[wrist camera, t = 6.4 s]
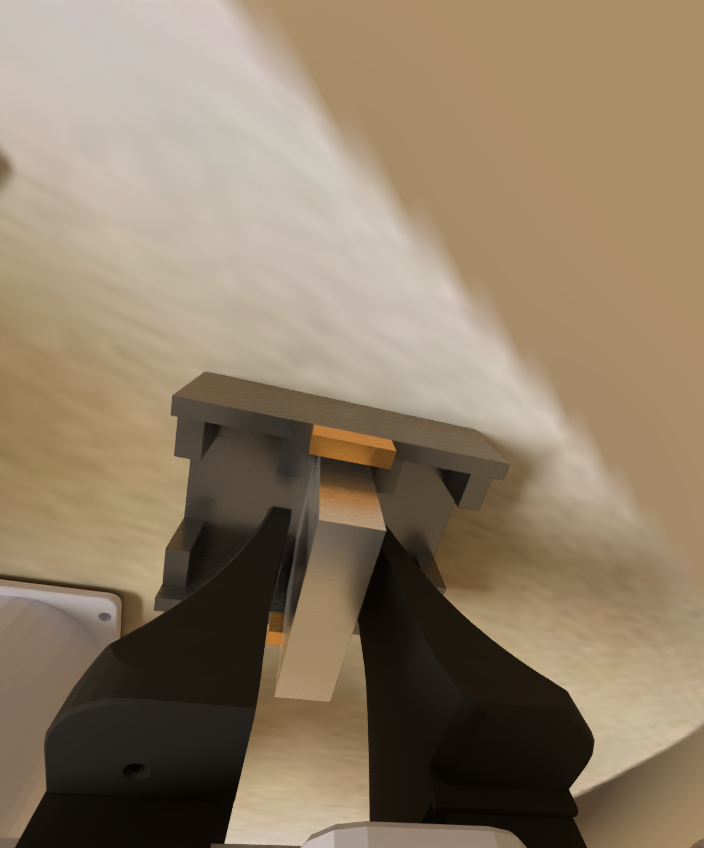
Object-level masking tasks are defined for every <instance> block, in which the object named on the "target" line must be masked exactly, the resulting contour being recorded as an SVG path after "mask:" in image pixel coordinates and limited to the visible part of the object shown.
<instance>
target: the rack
mask: <svg viewBox="0 0 704 848" xmlns="http://www.w3.org/2000/svg"><path fill="white" fill-rule="evenodd" d="M171 415H172V416H177V417H178V420H177V431H176V442H175V453H174V456H177V457H182V458H188V459H191V460H190V469H189V478H188V487H187V497H186V506H185V515H184V519H183V521H182V522H181V524H180V525H179V527H178V529H177V530H176V532H175V534H174V535H173V537H172V539H171V540H170V542H169V544H168V545H167V547H166V551H165V562H164V573H163V584H162V586H161V588H160V590H159V592H158V593H157V595H156V597H155V607H154V610H155V611H163V612H166V611H167V610H169V609H170V608H172V607H173V606H175V605H176V604H178V603H179V602H181V601H182V600H184V599H185V598H187V597H188V596H189V595H191V594H192V593H193V592H194V591H196V590H197V589H198V588H199V587H201V586H202V585H203V584H204V583H206V582H207V581H208V580H209V579H211V578H212V577H213V576H214V575H215V574H216V573H217V572H218V571H219V570H221V569H222V568H223V567H224V566H225V565H226V564H227V563H228V562H229V561H230V560H231V559H232V558H233V557H234V556H235V555H236V553H237V552H238V551H239V550H240V549H241V548H242V547H243V546H244V545H245V544H246V542H247V541H248V540H249V539H250V537H251V536H252V535H253V534H254V532H255V531H256V530H257V529H258V527H259V526H260V524H261V523H262V521H263V520H264V518H265V516H266V515H267V513H268V510H269V509H270V508H271V507H273V506H274V507H280V508H286V509H292V511H291V521H290V526H289V530H288V535H287V539H286V544H285V548H284V553H283V557H282V562H281V566H280V571H279V575H278V580H277V584H276V589H275V592H274V596H273V600H272V603H271V607H270V611H269V618H268V624H269V627H268V633H267V639H266V644H270V645H279V646H280V645H281V637H282V629H283V620H284V612H285V604H286V596H287V587H288V579H289V571H290V563H291V557H292V553H293V548H294V544H295V540H296V536H297V531H298V527H299V523H300V518H301V514H302V510H303V506H304V501H305V497H306V493H307V488H308V484H309V480H310V475H311V471H312V467H313V463H314V458H315V455H317V456H322V457H327V458H333V459H338V460H343V461H348V462H354V463H359V464H364V465H369V466H370V468H371V472H372V476H373V480H374V484H375V488H376V492H377V496H378V500H379V504H380V508H381V512H382V516H383V520H384V524H385V525H387V526H388V528H389V529H390V530H391V532H392V533H393V534H394V536H395V537H396V538H397V540H398V541H399V542H400V544H401V545H402V546H403V548H404V549H405V551H406V552H407V553H408V554H409V556H410V557H411V558H412V560H413V561H414V562H415V563H416V565H417V566H418V567H419V568H420V570H421V571H422V572H423V573H424V575H425V576H426V577H427V578H428V579H429V580H430V581H431V583H432V584H433V585H434V586H435V587H436V588H437V589H438V590H439V592H440V593H441V594H442V595H444V592H445V590H446V587H445V585H444V582H443V580H442V577H441V575H440V572H439V570H438V567H437V565H436V562H435V560H434V557H433V556H434V553H435V551H436V548H437V546H438V543H439V541H440V538H441V535H442V533H443V530H444V528H445V525H446V523H447V520H448V518H449V515H450V513H451V510H452V507H453V505H454V502H455V503H456V505H457V506H458V507H460V508H466V509H471V510H477V511H479V509H480V507H481V505H482V502H483V500H484V497H485V495H486V493H487V490H488V488H489V486H490V483H491V481H492V479H493V478H494V479H499V480H504V478H505V476H506V473H507V471H508V469H509V466H510V463H509V462H508V461H507V460H506V459H505V458H503V457H502V456H501V455H500V454H499V453H498V452H497V451H496V450H495V449H494V448H493V447H492V446H491V445H490V444H489V443H488V442H487V441H486V440H485V439H484V438H483V437H482V436H481V435H480V434H479V433H478V432H477V431H475V430H474V429H469V428H464V427H460V426H455V425H450V424H446V423H441V422H437V421H432V420H427V419H423V418H418V417H413V416H409V415H404V414H399V413H395V412H390V411H385V410H381V409H376V408H371V407H367V406H362V405H358V404H353V403H348V402H344V401H339V400H334V399H330V398H325V397H320V396H316V395H311V394H306V393H302V392H297V391H293V390H288V389H283V388H279V387H274V386H269V385H265V384H260V383H255V382H251V381H246V380H241V379H237V378H232V377H228V376H223V375H218V374H214V373H209V372H204V373H202V374H201V375H200V376H198V377H197V378H196V379H194V380H193V381H191V382H190V383H189V384H187V385H186V386H185V387H183V388H182V389H181V390H179V391H178V392H176V393H175V394H174V395H172V406H171ZM352 634H357V635H360V631H359V624H358V618H357V621H356V624H355V627H354V630H353V633H352Z"/></svg>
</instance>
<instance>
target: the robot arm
mask: <svg viewBox="0 0 704 848" xmlns="http://www.w3.org/2000/svg"><path fill="white" fill-rule="evenodd" d="M291 511H292V509H286V508H280V507H274V506H273V507H271V508H270V509H269V510H268V513H267V515H266V516H265V518H264V520H263V521H262V523H261V524H260V526H259V527H258V529H257V530H256V531H255V532H254V534H253V535H252V536H251V537H250V539H249V540H248V541H247V542H246V544H245V545H244V546H243V547H242V548H241V549H240V550H239V551H238V552H237V553H236V555H235V556H234V557H233V558H232V559H231V560H230V561H229V562H228V563H227V564H226V565H225V566H224V567H223V568H222V569H221V570H219V571H218V572H217V573H216V574H215V575H214V576H213V577H212V578H211V579H209V580H208V581H207V582H206V583H204V584H203V585H202V586H201V587H199V588H198V589H197V590H196V591H194V592H193V593H192V594H191V595H189V596H188V597H187V598H185V599H184V600H182V601H181V602H179V603H178V604H176V605H175V606H173V607H172V608H170V609H169V610H167V611H166V612H164V613H163V614H161V615H160V616H158V617H157V618H155V619H154V620H152V621H150V622H149V623H147V624H145V625H144V626H142V627H140V628H138V629H136V630H135V631H133V632H131V633H129V634H127V635H125V636H124V637H122V638H120V631H121V609H122V602H121V599H120V598H119V597H118V596H117V595H115V594H112V593H107V592H99V591H90V590H82V589H74V588H66V587H58V586H50V585H42V584H34V583H26V582H18V581H9V580H1V579H0V848H587V847H586V845H585V843H584V840H583V838H582V836H581V834H580V832H579V830H578V827H577V825H576V823H575V821H574V819H573V817H576V816H577V814H578V808H577V806H576V804H575V801H574V799H573V797H572V795H571V793H570V791H569V788H570V787H571V786H572V784H573V783H574V782H575V780H576V779H577V778H578V776H579V775H580V774H581V772H582V771H583V769H584V768H585V767H586V765H587V764H588V762H589V760H590V758H591V756H592V754H593V748H594V738H593V735H592V732H591V730H590V728H589V727H588V725H587V723H586V722H585V720H584V718H583V717H582V715H581V713H580V712H579V710H578V708H577V707H576V705H575V703H574V702H573V700H572V698H571V697H570V695H569V693H568V692H567V691H566V690H565V689H563V688H562V687H560V686H558V685H557V684H555V683H554V682H552V681H551V680H549V679H547V678H546V677H544V676H543V675H541V674H540V673H538V672H536V671H535V670H533V669H532V668H530V667H529V666H527V665H526V664H524V663H523V662H521V661H520V660H519V659H517V658H516V657H514V656H513V655H512V654H510V653H509V652H508V651H506V650H505V649H503V648H502V647H501V646H500V645H498V644H497V643H496V642H494V641H493V640H492V639H491V638H489V637H488V636H487V635H486V634H484V633H483V632H482V631H481V630H480V629H479V628H477V627H476V626H475V625H474V624H473V623H471V622H470V621H469V620H468V619H467V618H466V617H465V616H464V615H463V614H461V613H460V612H459V611H458V610H457V609H456V608H455V607H454V606H453V605H452V604H451V603H450V602H449V601H448V600H447V599H446V598H445V597H444V596H443V595H442V594H441V593H440V592H439V590H438V589H437V588H436V587H435V586H434V585H433V584H432V583H431V581H430V580H429V579H428V578H427V577H426V576H425V575H424V573H423V572H422V571H421V570H420V568H419V567H418V566H417V565H416V563H415V562H414V561H413V560H412V558H411V557H410V556H409V554H408V553H407V552H406V551H405V549H404V548H403V546H402V545H401V544H400V542H399V541H398V540H397V538H396V537H395V536H394V534H393V533H392V532H391V530H390V529H389V528H388V526H387V525H385V528H386V533H385V536H384V539H383V542H382V545H381V549H380V552H379V555H378V558H377V561H376V564H375V567H374V570H373V573H372V576H371V579H370V582H369V585H368V588H367V591H366V594H365V597H364V600H363V603H362V606H361V609H360V612H359V615H358V624H359V631H360V638H361V645H362V652H363V659H364V666H365V676H366V691H367V712H368V742H369V797H370V822H368V821H363V822H354V823H345V824H336V825H333V826H331V827H329V828H326V829H324V830H322V831H319V832H317V833H315V834H313V835H311V836H310V837H309V838H308V839H307V841H306V842H305V843H304V844H303V845H302V846H282V845H248V844H224V842H225V838H226V834H227V829H228V825H229V821H230V816H231V812H232V808H233V804H234V801H235V797H236V793H237V789H238V784H239V780H240V776H241V772H242V767H243V763H244V759H245V754H246V750H247V746H248V742H249V737H250V733H251V729H252V724H253V720H254V716H255V711H256V705H257V699H258V692H259V686H260V680H261V671H262V663H263V655H264V648H265V640H266V633H267V626H268V618H269V611H270V607H271V603H272V600H273V596H274V592H275V589H276V584H277V580H278V575H279V571H280V566H281V562H282V557H283V553H284V548H285V544H286V539H287V535H288V530H289V526H290V521H291ZM690 848H704V839H701V840H699V841H698V842H696V843H695V844H693V846H692V847H690Z"/></svg>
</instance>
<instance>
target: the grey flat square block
mask: <svg viewBox="0 0 704 848" xmlns="http://www.w3.org/2000/svg"><path fill="white" fill-rule="evenodd" d="M385 533H386V528H385V524H384V520H383V516H382V512H381V508H380V504H379V500H378V496H377V492H376V488H375V484H374V480H373V476H372V472H371V468H370V466H369V465H364V464H359V463H354V462H348V461H343V460H338V459H333V458H327V457H322V456H317V455H315V458H314V463H313V467H312V471H311V475H310V480H309V484H308V488H307V493H306V497H305V501H304V506H303V510H302V514H301V518H300V523H299V527H298V531H297V536H296V540H295V544H294V548H293V553H292V557H291V563H290V571H289V579H288V587H287V596H286V604H285V612H284V620H283V629H282V637H281V645H280V653H279V662H278V670H277V678H276V687H275V695H274V697H281V698H292V699H303V700H314V701H325V702H330V700H331V697H332V694H333V691H334V688H335V685H336V682H337V679H338V676H339V673H340V670H341V667H342V664H343V661H344V658H345V655H346V652H347V649H348V646H349V643H350V640H351V637H352V633H353V630H354V627H355V624H356V621H357V618H358V615H359V612H360V609H361V606H362V603H363V600H364V597H365V594H366V591H367V588H368V585H369V582H370V579H371V576H372V573H373V570H374V567H375V564H376V561H377V558H378V555H379V552H380V549H381V545H382V542H383V539H384V536H385Z"/></svg>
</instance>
